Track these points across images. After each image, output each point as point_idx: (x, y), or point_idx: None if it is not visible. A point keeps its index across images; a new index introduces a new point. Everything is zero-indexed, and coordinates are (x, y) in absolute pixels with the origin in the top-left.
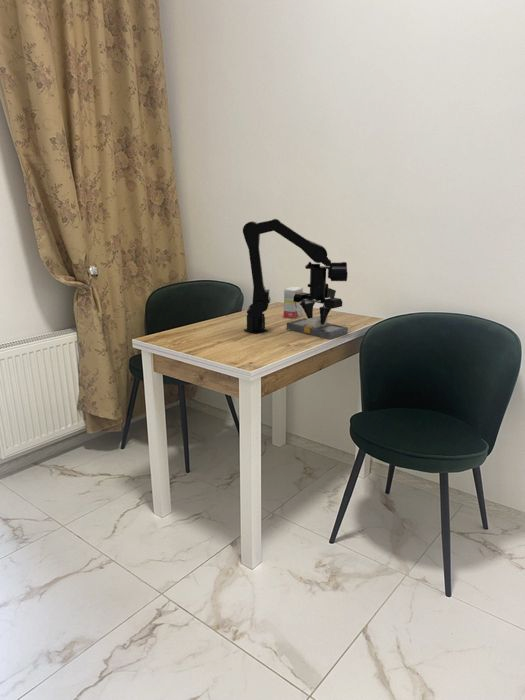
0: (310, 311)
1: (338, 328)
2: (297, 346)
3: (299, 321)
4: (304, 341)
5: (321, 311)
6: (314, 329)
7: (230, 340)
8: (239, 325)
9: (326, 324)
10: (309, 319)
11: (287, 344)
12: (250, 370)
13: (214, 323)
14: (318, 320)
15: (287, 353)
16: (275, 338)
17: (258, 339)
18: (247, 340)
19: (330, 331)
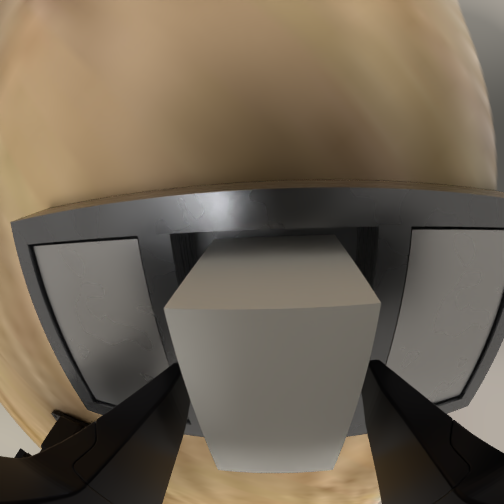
0: (139, 477)
1: (497, 285)
2: (359, 481)
3: (67, 331)
4: (350, 458)
5: None
6: (347, 433)
7: (165, 498)
8: (22, 398)
9: (348, 259)
10: (250, 469)
11: (316, 488)
12: None
13: (5, 401)
14: (341, 439)
15: (365, 499)
16: (223, 478)
17: (197, 490)
18: (188, 496)
19: (466, 394)
